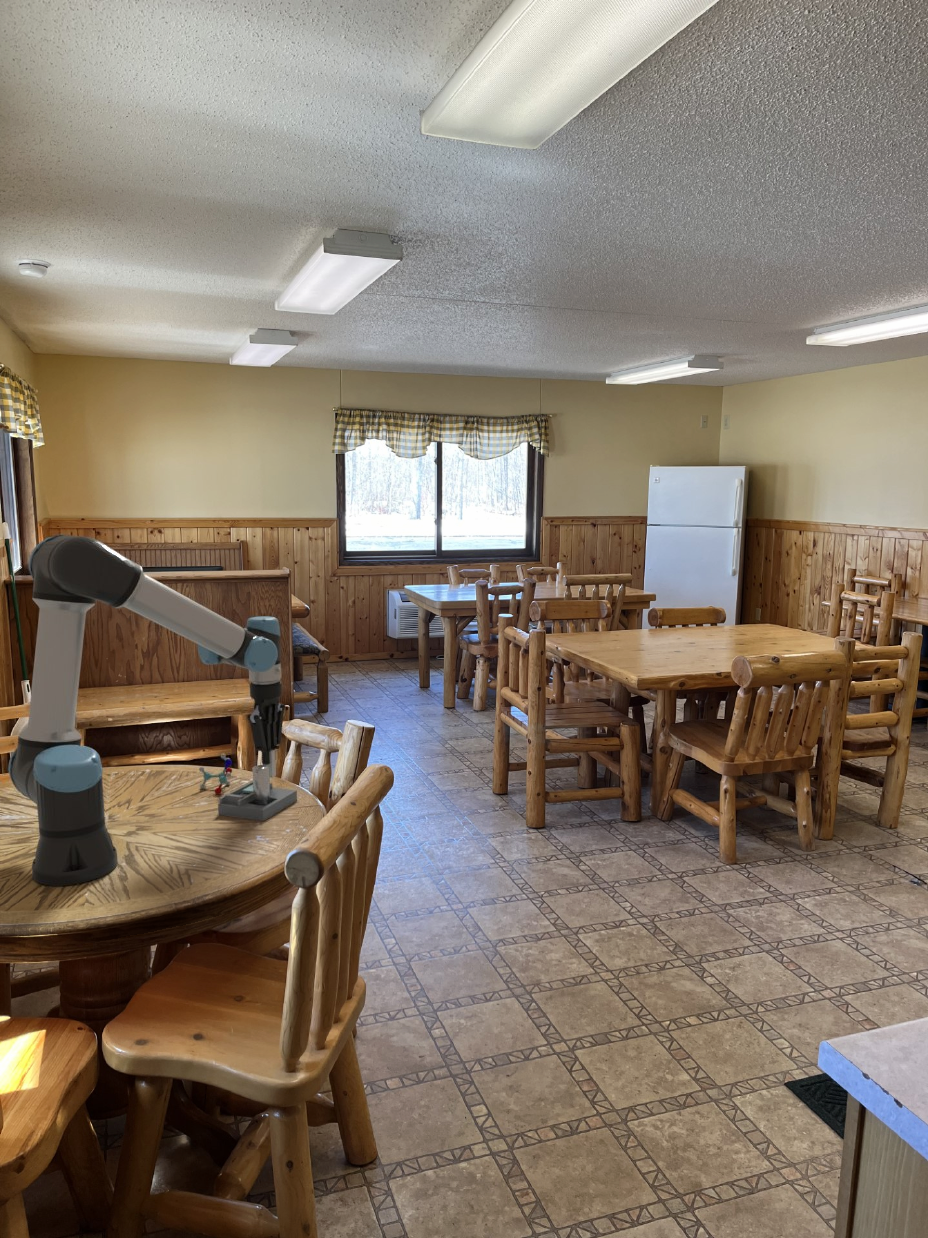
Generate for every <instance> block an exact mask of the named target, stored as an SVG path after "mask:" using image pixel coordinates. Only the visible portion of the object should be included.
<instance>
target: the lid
mask: <svg viewBox="0 0 928 1238" xmlns="http://www.w3.org/2000/svg"><path fill="white" fill-rule="evenodd" d="M270 778H271V777H270V773H269V783H271V779H270ZM243 793H250V794H251V793H253V785H251V786H249V787H247V788H246V789H244V790H243Z"/></svg>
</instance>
